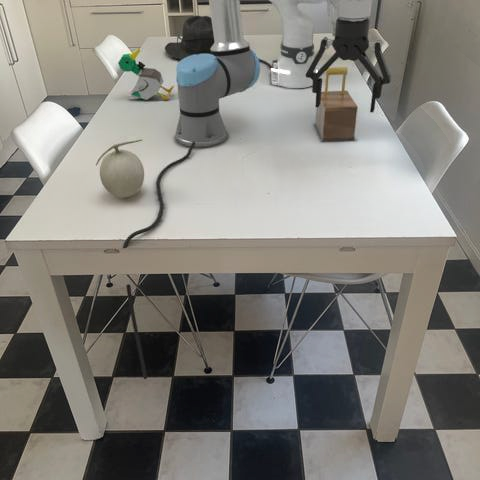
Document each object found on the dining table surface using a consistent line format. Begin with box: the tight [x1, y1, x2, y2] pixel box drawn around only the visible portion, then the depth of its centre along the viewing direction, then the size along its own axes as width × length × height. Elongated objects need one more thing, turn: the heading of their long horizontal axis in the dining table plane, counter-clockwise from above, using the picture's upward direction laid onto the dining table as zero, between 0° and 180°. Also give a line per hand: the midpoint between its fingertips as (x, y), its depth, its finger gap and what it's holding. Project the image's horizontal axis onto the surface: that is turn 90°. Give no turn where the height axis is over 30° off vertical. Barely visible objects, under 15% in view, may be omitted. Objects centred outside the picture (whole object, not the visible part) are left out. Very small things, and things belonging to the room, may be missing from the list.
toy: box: [117, 47, 175, 101], centre depth 181 cm, size 6×17×20 cm
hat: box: [164, 15, 215, 60], centre depth 230 cm, size 32×35×14 cm
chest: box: [314, 104, 358, 143], centre depth 155 cm, size 13×9×9 cm
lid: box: [321, 66, 358, 112], centre depth 150 cm, size 14×9×9 cm
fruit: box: [95, 139, 145, 199], centre depth 124 cm, size 10×12×15 cm
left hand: (344, 108), depth 129 cm, fingers open, 13 cm apart
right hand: (338, 40), depth 145 cm, fingers open, 8 cm apart
